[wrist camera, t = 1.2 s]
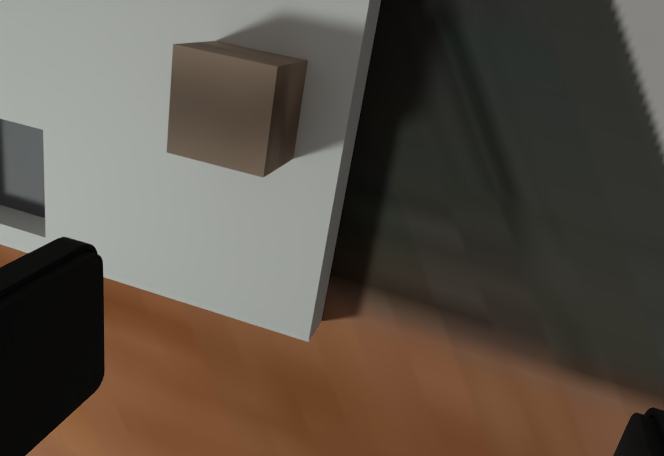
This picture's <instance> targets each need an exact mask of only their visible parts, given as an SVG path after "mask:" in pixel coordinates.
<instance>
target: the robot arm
mask: <svg viewBox="0 0 664 456" xmlns="http://www.w3.org/2000/svg"><path fill="white" fill-rule="evenodd" d="M103 377H104V296H103V260H102V258H101V256H100V255H98V254H97V250H96V248H95V247H94V246H93V245H92V244H88V243H85V242H82V241H78V240H75V239H71V238H68V237H61V238H58V239H56V240H54V241H52V242H50V243H48V244H46V245H44V246H42V247H40V248H38V249H36V250H34V251H32V252H30V253H28V254H26V255H24V256H22V257H20V258H18V259H16V260H14V261H12V262H10V263H8V264H6V265H4V266H3V267H1V268H0V456H25V455H26V454H28V453H29V452H30V451H31V450H32V449H33V448H34V447H35V446H36V445H37V444H38V443H40V442H41V441H42V440H43V439H44V438H45V437H46V436H47V435H48V434H49V433H50V432H52V431H53V430H54V429H55V428H56V427H57V426H58V425H59V424H60V423H61V422H63V421H64V420H65V419H66V418H67V417H68V416H69V415H70V414H71V413H72V412H73V411H75V410H76V409H77V408H78V407H79V406H80V405H81V404H82V403H83V402H84V401H85V400H87V399H88V398H89V397H90V396H91V395H92V394H93V393H94V392H95V391H96V390H97V389H98V387H99V386H100V384H101V382H102V380H103ZM613 456H664V411H663V410H660V409H656V408H650V409H649V410H648V411H647V412H646V413H645V415H643V414H639V413H634V414H633V415H632V416H631V418H630V420H629V422H628V424H627V426H626V429H625V431H624V433H623V435H622V438H621V440H620V442H619V444H618V446H617V449H616V451H615V453H614V455H613Z"/></svg>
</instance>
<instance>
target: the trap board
mask: <svg viewBox="0 0 664 456" xmlns="http://www.w3.org/2000/svg"><path fill="white" fill-rule="evenodd" d="M380 4H381V0H0V244H1V245H4V246H8V247H11V248H14V249H17V250H20V251H23V252H26V253H30V252H32V251H34V250H36V249H38V248H40V247H42V246H44V245H46V244H48V243H50V242H52V241H54V240H56V239H58V238H61V237H68V238H71V239H75V240H78V241H82V242H85V243H88V244H92V245H93V246H94V247H95V248H96V250H97V254H98V255H100V256H101V258H102V260H103V277H105V278H108V279H112V280H115V281H118V282H121V283H124V284H127V285H130V286H134V287H137V288H140V289H143V290H146V291H149V292H152V293H156V294H159V295H162V296H165V297H168V298H171V299H175V300H178V301H181V302H184V303H187V304H190V305H193V306H197V307H200V308H203V309H206V310H209V311H212V312H216V313H219V314H222V315H225V316H228V317H231V318H234V319H238V320H241V321H244V322H247V323H250V324H253V325H256V326H260V327H263V328H266V329H269V330H272V331H275V332H279V333H282V334H285V335H288V336H291V337H294V338H297V339H301V340H304V341H307V342H309V340H310V339H311V337H312V335H313V334H314V332H315V331H316V329H317V328H318V326H319V325H320V323H321V321H322V315H323V310H324V305H325V299H326V294H327V288H328V283H329V278H330V272H331V267H332V262H333V256H334V251H335V245H336V240H337V235H338V229H339V224H340V219H341V213H342V208H343V202H344V197H345V192H346V186H347V181H348V176H349V170H350V165H351V160H352V154H353V149H354V143H355V138H356V133H357V127H358V122H359V117H360V111H361V106H362V100H363V95H364V90H365V84H366V79H367V74H368V68H369V63H370V57H371V52H372V47H373V41H374V36H375V31H376V25H377V20H378V14H379V9H380ZM207 41H218V42H223V43H227V44H232V45H237V46H241V47H246V48H251V49H256V50H260V51H265V52H270V53H275V54H279V55H284V56H289V57H294V58H298V59H303V60H308V63H307V70H306V77H305V84H304V91H303V97H302V104H301V111H300V118H299V125H298V131H297V138H296V145H295V152H294V159H292V160H291V161H289V162H287V163H286V164H284V165H283V166H281V167H279V168H278V169H276V170H275V171H273V172H272V173H270V174H268V175H267V176H265V177H264V178H263V177H259V176H255V175H251V174H248V173H244V172H240V171H236V170H232V169H228V168H224V167H221V166H217V165H213V164H209V163H205V162H201V161H198V160H194V159H190V158H186V157H182V156H178V155H174V154H171V153H167V137H168V121H169V104H170V87H171V70H172V54H173V44H180V43H194V42H207Z"/></svg>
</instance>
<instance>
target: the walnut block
mask: <svg viewBox="0 0 664 456" xmlns="http://www.w3.org/2000/svg"><path fill="white" fill-rule="evenodd" d="M307 63H308V60H303V59H298V58H294V57H289V56H284V55H279V54H275V53H270V52H265V51H260V50H256V49H251V48H246V47H241V46H237V45H232V44H227V43H223V42H218V41H207V42H194V43H180V44H173V54H172V70H171V87H170V104H169V121H168V137H167V153H171V154H174V155H178V156H182V157H186V158H190V159H194V160H198V161H201V162H205V163H209V164H213V165H217V166H221V167H224V168H228V169H232V170H236V171H240V172H244V173H248V174H251V175H255V176H259V177H263V178H264V177H265V176H267V175H268V174H270V173H272V172H273V171H275V170H276V169H278V168H279V167H281V166H283V165H284V164H286V163H287V162H289V161H291V160H292V159H294V152H295V145H296V138H297V131H298V125H299V118H300V111H301V104H302V97H303V91H304V84H305V77H306V70H307Z"/></svg>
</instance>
